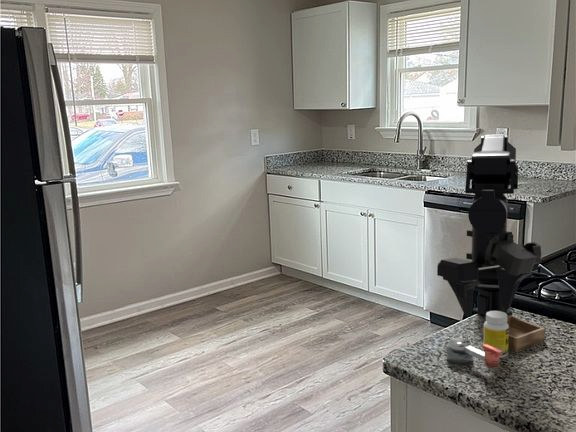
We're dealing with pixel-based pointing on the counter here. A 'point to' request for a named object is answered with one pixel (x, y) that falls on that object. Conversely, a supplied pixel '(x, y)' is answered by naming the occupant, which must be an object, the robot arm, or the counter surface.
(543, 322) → the counter surface
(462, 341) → the crank
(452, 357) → the block
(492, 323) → the supplement bottle
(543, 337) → the tray
